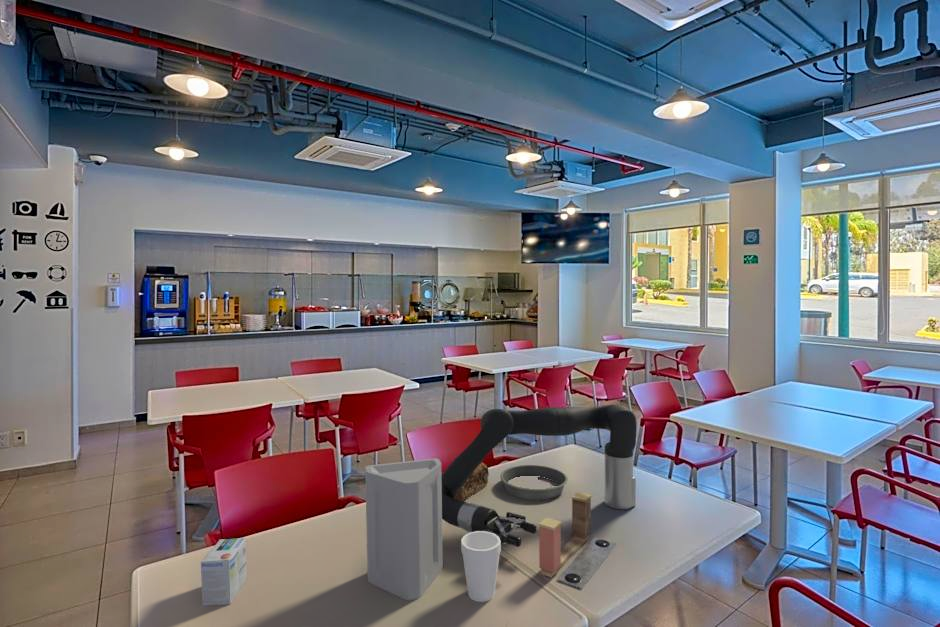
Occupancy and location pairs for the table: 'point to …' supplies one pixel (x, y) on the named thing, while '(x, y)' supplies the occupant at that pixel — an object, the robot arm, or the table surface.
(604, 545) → the flange plate
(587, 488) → the table surface
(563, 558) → the rail
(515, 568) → the table surface
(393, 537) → the triangular storage bin
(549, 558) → the sliding leg
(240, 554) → the light bulb box
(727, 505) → the table surface
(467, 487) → the bread
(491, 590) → the foam cup
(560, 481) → the cake pan
